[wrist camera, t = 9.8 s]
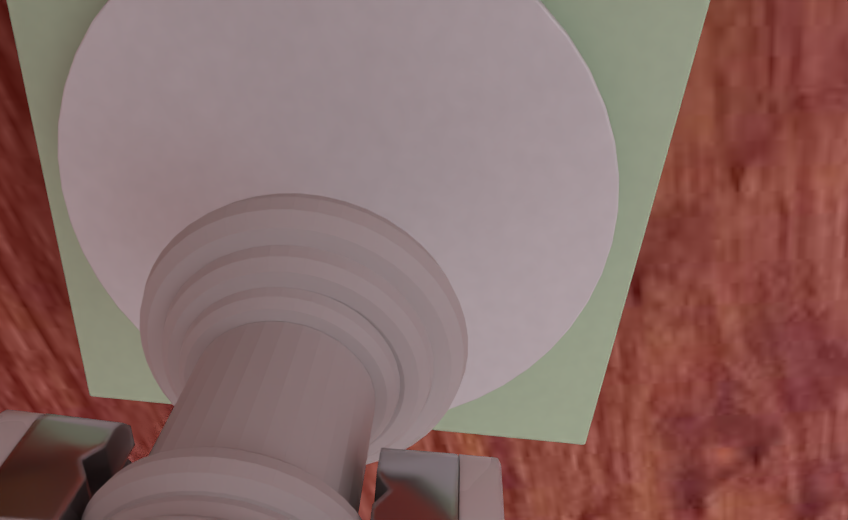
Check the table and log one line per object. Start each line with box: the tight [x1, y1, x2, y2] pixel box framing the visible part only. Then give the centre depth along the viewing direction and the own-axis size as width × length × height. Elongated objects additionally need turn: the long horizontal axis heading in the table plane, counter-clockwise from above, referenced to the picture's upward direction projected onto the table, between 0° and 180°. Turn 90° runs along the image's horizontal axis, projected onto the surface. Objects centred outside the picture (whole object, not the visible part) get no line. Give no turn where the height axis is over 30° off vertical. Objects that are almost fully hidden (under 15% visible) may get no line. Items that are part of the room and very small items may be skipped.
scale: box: [6, 0, 710, 445], centre depth 16 cm, size 15×14×4 cm
